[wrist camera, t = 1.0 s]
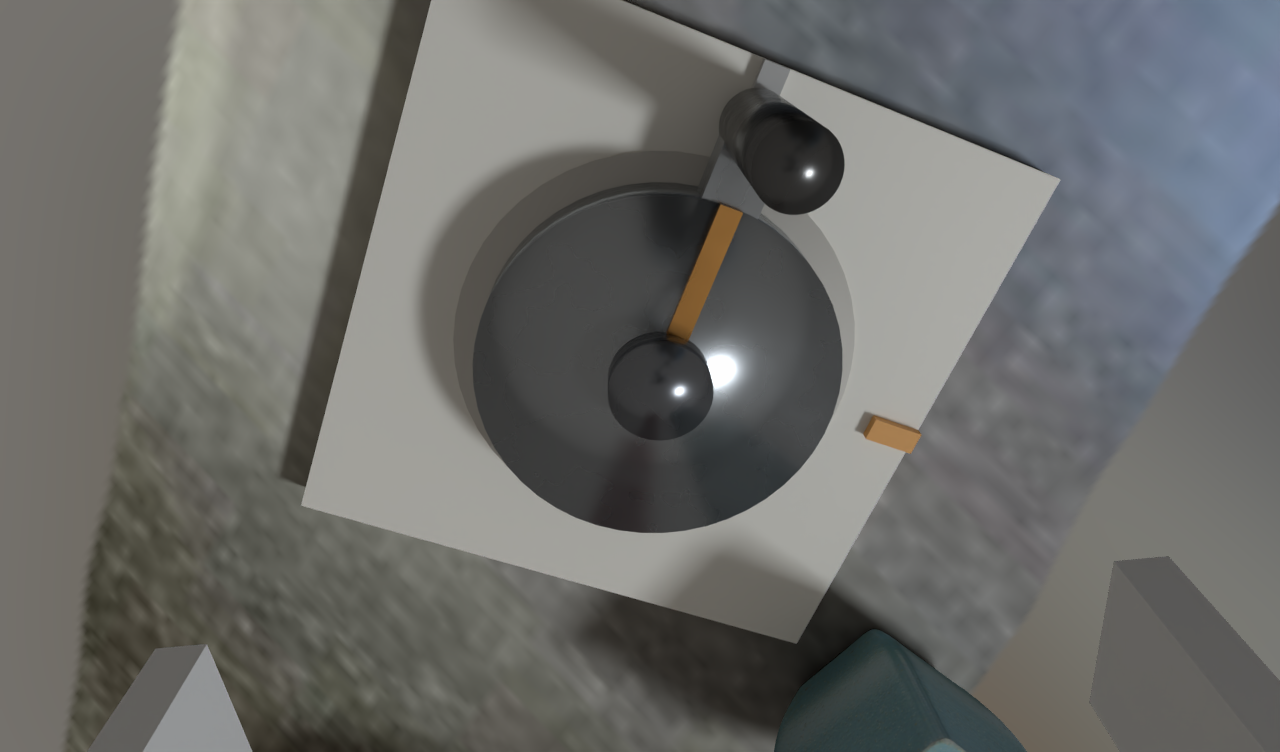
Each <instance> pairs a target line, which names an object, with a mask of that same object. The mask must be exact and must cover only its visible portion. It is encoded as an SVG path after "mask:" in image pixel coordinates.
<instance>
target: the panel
mask: <svg viewBox="0 0 1280 752" xmlns="http://www.w3.org/2000/svg"><path fill="white" fill-rule="evenodd" d="M750 88H765V89H768V90H771V91H773V92H775V93H776V94H778V95H779V96H781V97H782V98H784V99H785V100H787V101H788V102H789V103H791V104H792V105H794V106H795V107H797V108H798V109H800V110H801V111H802V112H804V113H805V114H807V115H808V116H810V117H811V118H813V119H814V120H816V121H817V122H818V123H820V124H821V125H823V126H824V127H826V128H827V129H829V130H830V131H831V132H832V133H833V134H834V135H835V137H836V138H837V139H838V141H839V143H840V145H841V147H842V150H843V154H844V160H845V167H844V174H843V178H842V181H841V183H840V186H839V188H838V189H837V191H836V192H835V194H834V195H833V196H832V198H831V199H830V200H829V201H828V202H826V203H825V204H824V205H823V206H821V207H820V208H818V209H816V210H814V211H812V212H809V213H806V214H801V215H788V214H783V213H779V212H777V211H775V210H773V209H771V208H770V207H768V206H767V205H766V204H765V205H764V207H763V209H762V211H761V214H763V215H764V216H766V217H767V218H768V219H769V220H771V221H772V222H773V223H774V224H775V225H777V226H778V227H779V228H780V229H781V230H782V231H783V232H784V233H785V234H786V235H787V236H788V237H789V238H790V239H791V241H792V242H793V243H794V244H795V245H796V246H797V247H798V248H799V250H800V251H801V253H802V254H803V256H804V257H805V258H806V260H807V261H808V263H809V264H810V265H811V267H812V268H813V270H814V272H815V273H816V275H817V276H818V278H819V279H820V281H821V282H822V284H823V285H824V288H825V290H826V292H827V294H828V296H829V298H830V300H831V303H832V305H833V308H834V311H835V314H836V318H837V321H838V324H839V329H840V335H841V342H842V378H841V385H840V392H839V396H838V399H837V403H836V406H835V410H834V413H833V416H832V418H831V420H830V423H829V425H828V427H827V429H826V432H825V434H824V435H823V437H822V439H821V440H820V442H819V444H818V445H817V447H816V449H815V450H814V452H813V453H812V455H811V456H810V457H809V458H808V460H807V461H806V462H805V463H804V465H803V466H802V467H801V468H800V470H799V471H798V472H797V473H796V474H795V475H794V476H793V477H792V478H791V479H790V480H789V481H787V482H786V483H785V484H784V485H783V486H782V487H781V488H779V489H778V490H777V491H776V492H774V493H773V494H772V495H770V496H769V497H768V498H766V499H765V500H763V501H762V502H760V503H758V504H757V505H755V506H753V507H752V508H750V509H748V510H746V511H744V512H742V513H740V514H738V515H735V516H733V517H731V518H729V519H726V520H723V521H720V522H717V523H714V524H711V525H708V526H705V527H700V528H696V529H691V530H686V531H678V532H668V533H637V532H628V531H620V530H615V529H611V528H606V527H602V526H598V525H595V524H592V523H589V522H586V521H583V520H581V519H578V518H575V517H573V516H571V515H569V514H567V513H565V512H563V511H561V510H559V509H557V508H556V507H554V506H552V505H551V504H549V503H548V502H546V501H545V500H543V499H542V498H540V497H539V496H537V495H536V494H535V493H534V492H533V491H532V490H530V489H529V488H528V487H527V486H526V485H524V484H523V483H522V482H521V481H520V480H519V479H518V478H517V476H516V475H515V474H514V473H513V472H512V471H511V470H510V469H509V468H508V467H507V465H506V464H505V462H504V461H503V460H502V458H501V457H500V455H499V454H498V452H497V451H496V450H495V448H494V446H493V444H492V442H491V440H490V438H489V436H488V434H487V432H486V430H485V428H484V425H483V422H482V419H481V417H480V414H479V411H478V407H477V402H476V397H475V392H474V386H473V366H472V365H473V354H474V344H475V339H476V335H477V331H478V327H479V323H480V319H481V316H482V314H483V311H484V308H485V305H486V303H487V300H488V297H489V295H490V292H491V290H492V287H493V285H494V283H495V280H496V278H497V277H498V275H499V273H500V271H501V270H502V268H503V266H504V264H505V263H506V261H507V259H508V258H509V257H510V256H511V254H512V253H513V252H514V251H515V249H516V248H517V247H518V245H519V244H520V243H521V242H522V241H523V240H524V239H525V238H526V237H527V236H528V235H529V234H530V233H531V232H532V231H533V230H534V229H535V228H536V227H537V226H538V225H540V224H541V223H542V222H544V221H545V220H546V219H548V218H549V217H550V216H552V215H553V214H554V213H556V212H557V211H559V210H561V209H563V208H564V207H566V206H568V205H570V204H572V203H574V202H575V201H577V200H579V199H582V198H584V197H587V196H589V195H592V194H595V193H597V192H600V191H602V190H606V189H611V188H615V187H619V186H623V185H628V184H638V183H647V182H667V183H681V184H687V185H693V186H699V184H700V181H701V179H702V176H703V174H704V171H705V169H706V166H707V164H708V161H709V159H710V156H711V154H712V151H713V149H714V147H715V144H716V142H717V139H718V137H719V120H720V116H721V113H722V111H723V109H724V107H725V105H726V104H727V103H728V101H729V100H730V99H731V98H732V97H733V96H735V95H736V94H738V93H739V92H741V91H744V90H746V89H750ZM1059 182H1060V179H1058V178H1056V177H1054V176H1052V175H1049V174H1047V173H1045V172H1042V171H1040V170H1037V169H1035V168H1033V167H1030V166H1028V165H1025V164H1023V163H1020V162H1018V161H1015V160H1013V159H1011V158H1008V157H1006V156H1003V155H1001V154H998V153H996V152H993V151H991V150H989V149H986V148H984V147H981V146H979V145H976V144H974V143H971V142H969V141H966V140H964V139H962V138H959V137H957V136H954V135H952V134H949V133H947V132H944V131H942V130H940V129H937V128H935V127H932V126H930V125H927V124H925V123H922V122H920V121H918V120H915V119H913V118H910V117H908V116H905V115H903V114H900V113H898V112H895V111H893V110H891V109H888V108H886V107H883V106H881V105H878V104H876V103H873V102H871V101H869V100H866V99H864V98H861V97H859V96H856V95H854V94H851V93H849V92H847V91H844V90H842V89H839V88H837V87H834V86H832V85H829V84H827V83H825V82H822V81H820V80H817V79H815V78H812V77H810V76H807V75H805V74H802V73H800V72H798V71H795V70H793V69H790V68H788V67H785V66H783V65H780V64H778V63H776V62H773V61H771V60H768V59H766V58H763V57H761V56H758V55H756V54H754V53H751V52H749V51H746V50H744V49H741V48H739V47H736V46H734V45H731V44H729V43H727V42H724V41H722V40H719V39H717V38H714V37H712V36H709V35H707V34H705V33H702V32H700V31H697V30H695V29H692V28H690V27H687V26H685V25H683V24H680V23H678V22H675V21H673V20H670V19H668V18H665V17H663V16H660V15H658V14H656V13H653V12H651V11H648V10H646V9H643V8H641V7H638V6H636V5H634V4H631V3H629V2H626V1H624V0H431V3H430V7H429V11H428V15H427V19H426V23H425V27H424V30H423V34H422V38H421V42H420V46H419V50H418V54H417V58H416V62H415V65H414V69H413V73H412V77H411V81H410V85H409V89H408V93H407V96H406V100H405V104H404V108H403V112H402V116H401V120H400V124H399V128H398V131H397V135H396V139H395V143H394V147H393V151H392V155H391V159H390V162H389V166H388V170H387V174H386V178H385V182H384V186H383V190H382V194H381V197H380V201H379V205H378V209H377V213H376V217H375V221H374V225H373V228H372V232H371V236H370V240H369V244H368V248H367V252H366V256H365V260H364V263H363V267H362V271H361V275H360V279H359V283H358V287H357V291H356V294H355V298H354V302H353V306H352V310H351V314H350V318H349V322H348V325H347V329H346V333H345V337H344V341H343V345H342V349H341V353H340V357H339V360H338V364H337V368H336V372H335V376H334V380H333V384H332V388H331V391H330V395H329V399H328V403H327V407H326V411H325V415H324V419H323V423H322V426H321V430H320V434H319V438H318V442H317V446H316V450H315V454H314V457H313V461H312V465H311V469H310V473H309V477H308V481H307V485H306V489H305V492H304V496H303V500H302V504H301V506H305V507H308V508H312V509H315V510H319V511H322V512H326V513H330V514H333V515H337V516H340V517H344V518H348V519H351V520H355V521H358V522H362V523H365V524H369V525H373V526H376V527H380V528H383V529H387V530H391V531H394V532H398V533H401V534H405V535H408V536H412V537H416V538H419V539H423V540H426V541H430V542H434V543H437V544H441V545H444V546H448V547H451V548H455V549H459V550H462V551H466V552H469V553H473V554H477V555H480V556H484V557H487V558H491V559H494V560H498V561H502V562H505V563H509V564H512V565H516V566H520V567H523V568H527V569H530V570H534V571H537V572H541V573H545V574H548V575H552V576H555V577H559V578H563V579H566V580H570V581H573V582H577V583H580V584H584V585H588V586H591V587H595V588H598V589H602V590H605V591H609V592H613V593H616V594H620V595H623V596H627V597H631V598H634V599H638V600H641V601H645V602H648V603H652V604H656V605H659V606H663V607H666V608H670V609H674V610H677V611H681V612H684V613H688V614H691V615H695V616H699V617H702V618H706V619H709V620H713V621H717V622H720V623H724V624H727V625H731V626H734V627H738V628H742V629H745V630H749V631H752V632H756V633H760V634H763V635H767V636H770V637H774V638H777V639H781V640H785V641H788V642H792V643H795V644H797V642H798V641H799V639H800V637H801V635H802V633H803V632H804V630H805V628H806V626H807V625H808V623H809V621H810V619H811V618H812V616H813V614H814V612H815V611H816V609H817V607H818V605H819V604H820V602H821V600H822V598H823V597H824V595H825V593H826V591H827V590H828V588H829V586H830V584H831V582H832V581H833V579H834V577H835V575H836V574H837V572H838V570H839V568H840V567H841V565H842V563H843V561H844V560H845V558H846V556H847V554H848V553H849V551H850V549H851V547H852V546H853V544H854V542H855V540H856V539H857V537H858V535H859V533H860V531H861V530H862V528H863V526H864V524H865V523H866V521H867V519H868V517H869V516H870V514H871V512H872V510H873V509H874V507H875V505H876V503H877V502H878V500H879V498H880V496H881V495H882V493H883V491H884V489H885V488H886V486H887V484H888V482H889V480H890V479H891V477H892V475H893V473H894V472H895V470H896V468H897V466H898V465H899V463H900V461H901V459H902V458H903V456H904V454H905V452H907V453H910V454H911V452H912V451H913V449H914V447H915V445H916V444H917V442H918V440H919V438H920V437H921V433H920V432H919V431H918V429H919V428H920V426H921V424H922V422H923V421H924V419H925V417H926V415H927V414H928V412H929V410H930V408H931V407H932V405H933V403H934V401H935V400H936V398H937V396H938V394H939V393H940V391H941V389H942V387H943V386H944V384H945V382H946V380H947V378H948V377H949V375H950V373H951V371H952V370H953V368H954V366H955V364H956V363H957V361H958V359H959V357H960V356H961V354H962V352H963V350H964V349H965V347H966V345H967V343H968V342H969V340H970V338H971V336H972V335H973V333H974V331H975V329H976V327H977V326H978V324H979V322H980V320H981V319H982V317H983V315H984V313H985V312H986V310H987V308H988V306H989V305H990V303H991V301H992V299H993V298H994V296H995V294H996V292H997V291H998V289H999V287H1000V285H1001V284H1002V282H1003V280H1004V278H1005V276H1006V275H1007V273H1008V271H1009V269H1010V268H1011V266H1012V264H1013V262H1014V261H1015V259H1016V257H1017V255H1018V254H1019V252H1020V250H1021V248H1022V247H1023V245H1024V243H1025V241H1026V240H1027V238H1028V236H1029V234H1030V233H1031V231H1032V229H1033V227H1034V225H1035V224H1036V222H1037V220H1038V218H1039V217H1040V215H1041V213H1042V211H1043V210H1044V208H1045V206H1046V204H1047V203H1048V201H1049V199H1050V197H1051V196H1052V194H1053V192H1054V190H1055V189H1056V187H1057V185H1058V183H1059Z"/></svg>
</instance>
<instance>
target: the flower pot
mask: <svg viewBox="0 0 1280 752" xmlns="http://www.w3.org/2000/svg"><path fill="white" fill-rule="evenodd" d="M774 752H1027V751H1026V750H1025V748H1024V747H1023V746H1022V745H1021V743H1020V742H1019V741H1018V739H1017V738H1016V737H1015V736H1014V735H1013V733H1012V732H1011V731H1010V730H1009V729H1008V728H1007V727H1006V726H1005V725H1004V724H1003V722H1002V721H1001V720H1000V719H998V718H997V717H996V716H995V715H994V714H993V713H992V712H991V711H990V710H989V709H988V708H986V707H985V706H984V705H983V704H982V703H980V702H979V701H978V700H977V699H976V698H974V697H973V696H972V695H970V694H969V693H968V692H967V691H965V690H964V689H962V688H961V687H960V686H958V685H957V684H955V683H954V682H952V681H951V680H950V679H948V678H947V677H945V676H944V675H943V674H941V673H940V672H939V671H937V670H936V669H934V668H933V667H932V666H930V665H929V664H928V663H926V662H925V661H923V660H922V659H921V658H919V657H918V656H916V655H915V654H914V653H912V652H911V651H909V650H908V649H907V648H905V647H904V646H903V645H901V644H900V643H899V642H898V641H896V640H895V639H893V638H892V637H890V636H889V635H887V634H886V633H884V632H882V631H880V630H876V629H873V630H870V631H868V632H866V633H865V634H863V635H862V636H861V637H860V638H859V639H858V640H856V641H855V642H854V643H853V644H852V645H850V646H849V647H848V648H847V649H846V650H845V651H843V652H842V653H841V654H840V655H839V656H837V657H836V658H835V659H834V660H833V661H831V662H830V663H829V664H828V665H826V666H825V667H824V668H823V669H821V670H820V671H819V672H818V673H817V674H815V675H814V676H813V677H812V678H810V679H809V680H808V681H807V682H806V683H804V684H803V685H802V686H801V687H800V689H799V690H798V692H797V693H796V695H795V697H794V698H793V700H792V702H791V704H790V705H789V707H788V709H787V711H786V713H785V715H784V718H783V720H782V723H781V725H780V728H779V732H778V735H777V739H776V744H775V749H774Z"/></svg>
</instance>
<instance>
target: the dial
mask: <svg viewBox="0 0 1280 752" xmlns="http://www.w3.org/2000/svg"><path fill="white" fill-rule="evenodd" d="M844 167H845V160H844V154H843V150H842V147H841V145H840V143H839V141H838V139H837V138H836V137H835V135H834V134H833V133H832V132H831V131H830V130H829V129H827V128H826V127H824V126H823V125H821V124H820V123H818V122H817V121H816V120H814V119H813V118H811V117H810V116H808V115H807V114H805V113H804V112H802V111H801V110H800V109H798V108H797V107H795V106H794V105H792V104H791V103H789V102H788V101H787V100H785V99H784V98H782V97H781V96H779V95H778V94H776V93H775V92H773V91H771V90H768V89H765V88H750V89H746V90H744V91H741V92H739V93H738V94H736V95H735V96H733V97H732V98H731V99H730V100H729V101H728V103H727V104H726V105H725V107H724V109H723V111H722V113H721V116H720V120H719V137H718V139H717V142H716V144H715V147H714V149H713V151H712V154H711V156H710V159H709V161H708V164H707V166H706V169H705V171H704V174H703V176H702V179H701V181H700V184H699V186H693V185H687V184H681V183H667V182H647V183H638V184H628V185H623V186H619V187H615V188H611V189H606V190H602V191H600V192H597V193H595V194H592V195H589V196H587V197H584V198H582V199H579V200H577V201H575V202H574V203H572V204H570V205H568V206H566V207H564V208H563V209H561V210H559V211H557V212H556V213H554V214H553V215H552V216H550V217H549V218H548V219H546V220H545V221H544V222H542V223H541V224H540V225H538V226H537V227H536V228H535V229H534V230H533V231H532V232H531V233H530V234H529V235H528V236H527V237H526V238H525V239H524V240H523V241H522V242H521V243H520V244H519V245H518V247H517V248H516V249H515V251H514V252H513V253H512V254H511V256H510V257H509V258H508V259H507V261H506V263H505V264H504V266H503V268H502V270H501V271H500V273H499V275H498V277H497V278H496V280H495V283H494V285H493V287H492V290H491V292H490V295H489V297H488V300H487V303H486V305H485V308H484V311H483V314H482V316H481V319H480V323H479V327H478V331H477V335H476V339H475V344H474V354H473V365H472V366H473V386H474V392H475V397H476V402H477V407H478V411H479V414H480V417H481V419H482V422H483V425H484V428H485V430H486V432H487V434H488V436H489V438H490V440H491V442H492V444H493V446H494V448H495V450H496V451H497V452H498V454H499V455H500V457H501V458H502V460H503V461H504V462H505V464H506V465H507V467H508V468H509V469H510V470H511V471H512V472H513V473H514V474H515V475H516V476H517V478H518V479H519V480H520V481H521V482H522V483H523V484H524V485H526V486H527V487H528V488H529V489H530V490H532V491H533V492H534V493H535V494H536V495H537V496H539V497H540V498H542V499H543V500H545V501H546V502H548V503H549V504H551V505H552V506H554V507H556V508H557V509H559V510H561V511H563V512H565V513H567V514H569V515H571V516H573V517H575V518H578V519H581V520H583V521H586V522H589V523H592V524H595V525H598V526H602V527H606V528H611V529H615V530H620V531H628V532H637V533H668V532H678V531H686V530H691V529H696V528H700V527H705V526H708V525H711V524H714V523H717V522H720V521H723V520H726V519H729V518H731V517H733V516H735V515H738V514H740V513H742V512H744V511H746V510H748V509H750V508H752V507H753V506H755V505H757V504H758V503H760V502H762V501H763V500H765V499H766V498H768V497H769V496H770V495H772V494H773V493H774V492H776V491H777V490H778V489H779V488H781V487H782V486H783V485H784V484H785V483H786V482H787V481H789V480H790V479H791V478H792V477H793V476H794V475H795V474H796V473H797V472H798V471H799V470H800V468H801V467H802V466H803V465H804V463H805V462H806V461H807V460H808V458H809V457H810V456H811V455H812V453H813V452H814V450H815V449H816V447H817V445H818V444H819V442H820V440H821V439H822V437H823V435H824V434H825V432H826V429H827V427H828V425H829V423H830V420H831V418H832V416H833V413H834V410H835V406H836V403H837V399H838V396H839V392H840V385H841V378H842V342H841V335H840V329H839V324H838V321H837V318H836V314H835V311H834V308H833V305H832V303H831V300H830V298H829V296H828V294H827V292H826V290H825V288H824V285H823V284H822V282H821V281H820V279H819V278H818V276H817V275H816V273H815V272H814V270H813V268H812V267H811V265H810V264H809V263H808V261H807V260H806V258H805V257H804V256H803V254H802V253H801V251H800V250H799V248H798V247H797V246H796V245H795V244H794V243H793V242H792V241H791V239H790V238H789V237H788V236H787V235H786V234H785V233H784V232H783V231H782V230H781V229H780V228H779V227H778V226H777V225H775V224H774V223H773V222H772V221H771V220H769V219H768V218H767V217H766V216H764V215H763V214H761V211H762V209H763V207H764V205H765V204H766V205H767V206H768V207H770V208H771V209H773V210H775V211H777V212H779V213H783V214H788V215H801V214H806V213H809V212H812V211H814V210H816V209H818V208H820V207H821V206H823V205H824V204H825V203H826V202H828V201H829V200H830V199H831V198H832V196H833V195H834V194H835V192H836V191H837V189H838V188H839V186H840V183H841V181H842V178H843V174H844Z"/></svg>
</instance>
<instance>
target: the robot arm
mask: <svg viewBox="0 0 1280 752" xmlns="http://www.w3.org/2000/svg"><path fill="white" fill-rule="evenodd" d="M1089 703H1090V704H1091V706H1092V707H1093V709H1094V711H1095V712H1096V714H1097V716H1098V717H1099V719H1100V721H1101V722H1102V724H1103V725H1104V727H1105V729H1106V730H1107V732H1108V734H1109V735H1110V737H1111V738H1112V740H1113V741H1114V743H1115V745H1116V746H1117V748H1118V750H1119V751H1120V752H1280V681H1279V679H1278V678H1277V677H1276V676H1275V675H1274V674H1273V673H1272V672H1271V671H1270V669H1269V668H1268V667H1267V666H1266V665H1265V664H1264V663H1263V662H1262V660H1261V659H1260V658H1259V657H1258V656H1257V655H1256V654H1255V653H1254V651H1253V650H1252V649H1251V648H1250V647H1249V646H1248V645H1247V644H1246V642H1244V640H1243V639H1242V638H1241V637H1240V636H1239V635H1238V634H1237V632H1236V631H1235V630H1234V629H1233V628H1232V627H1231V626H1230V625H1229V624H1228V622H1227V621H1226V620H1225V619H1224V618H1223V617H1222V616H1221V615H1220V614H1219V612H1218V611H1217V610H1216V609H1215V608H1214V607H1213V606H1212V604H1211V603H1210V602H1209V601H1208V600H1207V599H1206V598H1205V597H1204V595H1203V594H1202V593H1201V592H1200V591H1199V590H1198V589H1197V588H1196V587H1195V586H1194V584H1193V583H1192V582H1191V581H1190V580H1189V579H1188V578H1187V576H1185V574H1184V573H1183V572H1182V571H1181V570H1180V569H1179V568H1178V566H1177V565H1176V564H1175V563H1174V562H1173V561H1172V560H1171V559H1170V557H1168V556H1166V557H1155V558H1145V559H1135V560H1134V559H1133V560H1122V561H1114V563H1113V570H1112V575H1111V581H1110V586H1109V592H1108V598H1107V604H1106V609H1105V615H1104V621H1103V627H1102V633H1101V638H1100V645H1099V650H1098V656H1097V661H1096V667H1095V673H1094V678H1093V684H1092V690H1091V696H1090V701H1089ZM87 752H252V750H251V747H250V745H249V743H248V740H247V738H246V735H245V733H244V731H243V728H242V726H241V724H240V721H239V719H238V717H237V714H236V712H235V709H234V707H233V705H232V702H231V700H230V698H229V695H228V693H227V691H226V688H225V686H224V683H223V681H222V679H221V676H220V674H219V672H218V669H217V667H216V665H215V662H214V660H213V658H212V655H211V653H210V650H209V648H208V646H207V644H203V645H192V646H181V647H170V648H159V649H155V650H154V652H153V653H152V655H151V656H150V658H149V659H148V661H147V662H146V664H145V665H144V667H143V668H142V670H141V671H140V673H139V674H138V676H137V677H136V679H135V681H134V682H133V684H132V685H131V687H130V688H129V690H128V691H127V693H126V694H125V696H124V697H123V699H122V700H121V702H120V703H119V705H118V706H117V708H116V709H115V711H114V712H113V714H112V715H111V717H110V718H109V720H108V721H107V723H106V724H105V726H104V727H103V729H102V730H101V732H100V733H99V735H98V736H97V738H96V739H95V741H94V742H93V744H92V745H91V747H90V748H89V750H88V751H87Z"/></svg>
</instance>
